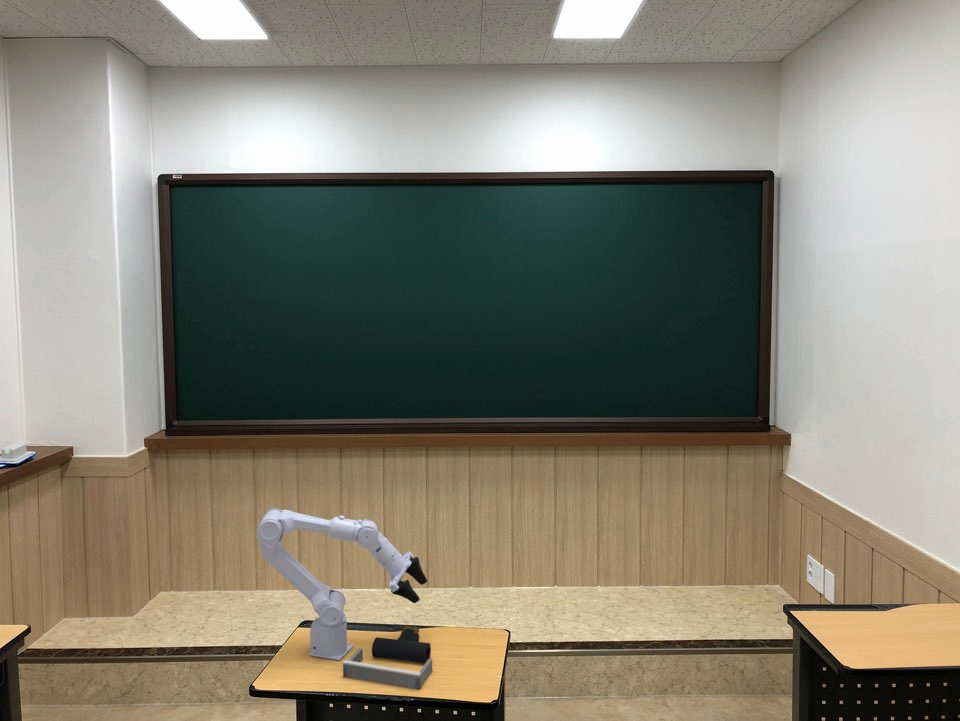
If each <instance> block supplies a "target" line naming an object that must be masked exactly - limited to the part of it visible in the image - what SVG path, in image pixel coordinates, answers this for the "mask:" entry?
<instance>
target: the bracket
mask: <svg viewBox="0 0 960 721" xmlns="http://www.w3.org/2000/svg"><path fill="white" fill-rule="evenodd" d="M363 652H364V650H363V648H360V647H359V648H357V650H356V651H355V652H354V653H353V654H352V655H351V657H349V658H348V659H347V660H346V659H344V661H342V677H343V678H347V679H355V680H360V681H366V682H371V683H376V684H377V683H378V684H383V685H389V686H396V687H401V688H407V689H412V690H420V689H421V688H422V686H423V685H424V683H425V682H426V681H427V679H428V678H429V676H430V675H431V673H432V672H433V659H431V658H429V659H428V660H427V662H426V663H424V665H423V666H422V668H421V669H420V670H419V671H415V670H409V669H408V670H407V669H402V668H396V667H391V666H390V667H389V666H384V665H378V664H372V663H371V664H370V663H366V662H362V661H363V660H364V655H363V654H364V653H363Z"/></svg>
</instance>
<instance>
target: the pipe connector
mask: <svg viewBox="0 0 960 721" xmlns="http://www.w3.org/2000/svg"><path fill="white" fill-rule="evenodd" d="M419 629H420V627H418V626H413V627H412V626H410V625H405V626H404V627H403V629H402V630H401V633H400V635H399V636H398V637H397V639H396V638H389V637H388V638H387V637H377V636H376V637H375V638H374V640H373V641H372V646H371V656H372V657H373V658H377V659H378V658H379V659H388V660H395V661H402V662H404V661H405V662H410V663H411V662H412V663H419V664H425V663H426V662H427V660H428V659H431V658H430V657H431V653H432V652H431V650H432V648H431V647H432V646H431V643H430V642H421V641H420V633H419V632H420V630H419Z"/></svg>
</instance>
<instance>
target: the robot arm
mask: <svg viewBox="0 0 960 721" xmlns="http://www.w3.org/2000/svg"><path fill="white" fill-rule="evenodd" d="M256 530H257V531H256V536H255V539H256V540H257V541H258V545H259V549H260V553H261V556H262V558H263V559H264V561H265V562H267V563H269V565H270V566H272V568H274V570H276V571H277V572H278V573H279V574H280V575H281V576H282V577H284V578H285V580H287V582H289V583H290V584H291V585H292V586H293V587H294V588H295V589H297V591H299V592H300V593H301V594H302V595H303V596H304V597H305V598H306V599H307V600H309V602H310V604H311V606H312V608H313V610H314V612H315V613H316V614H317V615H318V617H315V619H314V620H312V623H311V626H310V631H309V636H310V637H309V640H310V652H309V655H308V656H310V657H314V658H315V657H316V658H323V659H328V660H333V661H340V660H342V659H343V658H344V657H345V656H346V655H347V654H348V652H350V651H351V649H353V647H354V644H352V643H348V630H347V616H346V614H345V613H344V611H345V605H346V597H345V595H344V594H343V592H341V591H340V590H336V589H334V588H332V587H331V586H330V585H326V584H324V583H322V582H321V581H320V580H319V579H317V577H316V576H314V575H313V574H312V573H311V572H310V571H309V570H308V569H307V568H306V567H305V566H304V565H303V564H302V563H300V562H299V561H298V560H297V559H296V558H295V557H294V556H293V555H292V554H291V553H290V552H289V551H287V550H286V549H285V548H284V547H283V538H284V536H287V535H289V534H291V533H292V532H294V531H296V530H301V531H309V532H315V533H316V532H318V533H326V534H327V535H328V536H329V538H330V539H333V540H340V541H344V542H346V541H347V542H352V543H358V546H360V547H361V548H364V549H366V550H368V552H369V553H370V555H372V556H373V558H375V560H376V561H377V562H378V563H379V564H380V565H381V567H382V568H384V569H385V571H386V572H387V573H388V574H389V575H390V579H389V580H390V581H389V586H388V588H389V590H390V592H391V593H392V594H393V595H395V596H399V597H402V598H403V599H406V600H408V601H409V602H411V603H413V604H416V603H418V602H419V601H420V600H421V598H420V596H419V595H418V594H417V592H416V591H415V589H414V588H413V587H412V585H411V583H410V580H409V579H406V580H405V581H404V580H402V579H403V577H404V575H405V573H406V574H408V575H409V576H411V578H413V579H414V580H415V581H416V582H417V583H418V584H419V585H421V586H423V585H425V584H426V583H428V579H427V577H426V575H425V573H424V571H423V569H422V566H421V564H420V563H421V562H420V558H419V557H418V556H415V555H414V554H413V553H412V552H411V551H410V550H409V551H407V552H406V553H404V554H403V555H402V553H401V552H400V551H399V550H397V548H396V547H395V546H394V545H393V544H392V543H391V542H390V541H389V540H388V538H387V537H386V536H384V535H383V533H382V532H381V531H379V530H378V525H377V523H375V522H374V520H371V519H369V518H366V519H358V520H355V519H349V518H345V515H340V516H339V517H338V516H335V517H333V518H331V519H325V518H321V517H317V516H313V515H309V514H303V513H298V512H296V511H293V510H288V509H283V510H282V509H280V508H271V509H268V510H267V511H266V512H265V513H264V515H263V518H262V520H261V521H260V522H259V524H258V526H257V529H256ZM283 533H284V535H283Z"/></svg>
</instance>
